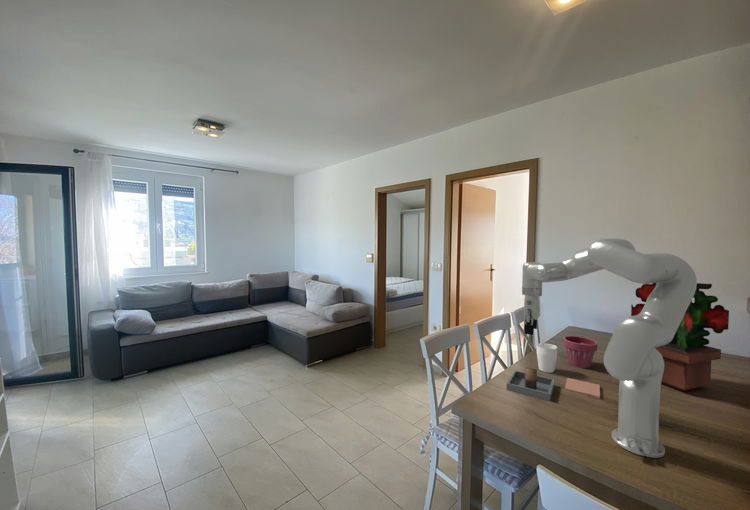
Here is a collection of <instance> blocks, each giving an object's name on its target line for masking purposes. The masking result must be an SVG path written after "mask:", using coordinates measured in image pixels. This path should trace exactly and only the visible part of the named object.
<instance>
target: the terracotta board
mask: <svg viewBox="0 0 750 510" xmlns="http://www.w3.org/2000/svg"><path fill="white" fill-rule="evenodd" d="M600 387H601V386H600V384H597V383H592V382H589V381H583V380H580V379H575V378H569V377H567V378H566V381H565V386H564V389H565V390H569V391H572V392H573V391H574V392H577V393H580V394H586V395H587V397H589V398H590V397H591V398H593V399H594V398H595V399H597V400H598V399H601V390H600V389H601V388H600Z"/></svg>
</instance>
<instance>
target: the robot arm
mask: <svg viewBox="0 0 750 510" xmlns="http://www.w3.org/2000/svg"><path fill="white" fill-rule="evenodd" d="M602 270H606V271H608V272H610V273H612V274H614V275H616V276H619V277H621V278H623V279H626V280H628V281H630V282H632V283H637V284H642V285H643V284H653V283H657V284H656V287H655V288H654V290H653V291H652V292H651V293H650V295H649V296H648V298H647V301H646V302H644V304H645V305H644V307H643V309H642V311H641V312H640V314H638V315H635V316H631V315H630V316H627V317H625V318H623V319H622V320H620V322H619V323H618V324H617V325H616V327H615V329H614V330H613V333H612V335H611V337H610V340H609V342H608V344H607V347H606V348H605V352H604V353H603V354H604V355H603V365H604V368H605V369H606V372H607V373H608V374H609V375H610V376H612V377H613V378H615V379H616V380H618V381H619V383H618V385H619V386H618V411H617V413H618V415H617V419H618V421H617V428H615V429H613V430H612V431H611V439H612V440H613V442H615V444H617V445H618V446H620V447H621V448H622V449H625V451H628V452H631V453H633V454H636V455H639V456H642V457H645V456H646V457H647V458H653V459H654V458H655V459H656V458H657V459H658V458H662V457H664V456H665V454H666V448H665V446H664V445H663V444H662V443H661V442H660V441H659V429H660V428H659V427H660V426H659V425H660V420H659V419H660V399H661V385H662V384H661V381H662V376H663V372H664V360H663V357H662V355H661V354H660V352H659V351H658V350H657V349H655V348H656V347H660V346H663V345H666V344H668V343H669V342H671V341H672V339H673V337H674V335H675V333H676V331H677V329H678V327H679V325H680V323H681V321H682V319H683V317H684V314H685V312H686V310H687V308H688V306H689V304H690V302H691V300H692V301H693V299H694V297H693V296H694V294H695V291H696V286H697V282H698V280H697V275H696V273H695V271H694V269H693V267H692V266H691V265H690V264H689V263H688V262H687V261H686V260H684V259H683V258H681V257H679V256H678V255H675V254H671V253H666V252H665V253H663V252H655V253H654V252H652V253H643V252H640V251H636V247H635V246H634V244H633V243H632V242H630V241H629V240H627V239H623V238H600V239H598V240H597V239H596V240H595V241H594V242H591V244H590V245H589V247H587V248H584V249H581V250H578V251H576V252H575V253H574V255H573V258H571V259H567V260H563V261H560V262H548V263H547V262H546V263H545V262H544V263H541V262H535V261H534V262H533V261H532V262H531V261H528V262H527V261H526V262H524V263H523V264H522V272H521V273H522V275H521V276H522V277H521V278H522V279H521V283H522V284H521V295H523V296H524V300H523V302H524V304H523V317H524V319H525V321H524V334H525V335H530V336H531V335H534V329H535V330H537V329H538V319H539V317H540V316H541V300H540V298H541V297H543V283H554V282H564V281H568V280H571V279H576V278H578V277H583V276H585V275H588V274H591V273H595V272H598V271H602Z"/></svg>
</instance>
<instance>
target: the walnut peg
mask: <svg viewBox="0 0 750 510" xmlns="http://www.w3.org/2000/svg"><path fill="white" fill-rule="evenodd" d="M524 370H525V371H524V372H525V387H526V388H530V389H534V390H536V389H537V375H538V372H537V371H538V370H537V368H535V367H532V366H527V367H524Z"/></svg>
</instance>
